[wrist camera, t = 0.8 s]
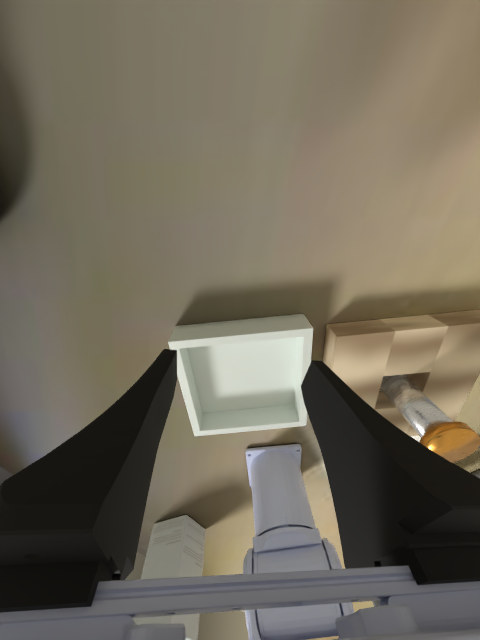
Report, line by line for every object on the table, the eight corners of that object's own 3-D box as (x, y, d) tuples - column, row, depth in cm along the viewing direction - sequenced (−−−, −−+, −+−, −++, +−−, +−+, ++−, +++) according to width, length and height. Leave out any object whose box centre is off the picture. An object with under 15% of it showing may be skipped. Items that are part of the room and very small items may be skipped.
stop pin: (399, 387, 28) (469, 461, 20) (366, 390, 28) (422, 465, 20) (408, 360, 26) (489, 429, 18) (372, 363, 26) (437, 435, 18)
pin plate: (432, 415, 30) (448, 432, 28) (316, 426, 30) (322, 444, 28) (480, 309, 23) (507, 320, 21) (326, 324, 23) (337, 336, 21)
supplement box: (152, 523, 41) (122, 643, 29) (187, 513, 40) (170, 634, 28) (174, 538, 44) (154, 652, 33) (207, 529, 43) (198, 644, 31)
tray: (299, 405, 28) (306, 425, 26) (197, 414, 28) (194, 436, 26) (303, 313, 22) (313, 328, 20) (175, 326, 22) (168, 342, 20)
